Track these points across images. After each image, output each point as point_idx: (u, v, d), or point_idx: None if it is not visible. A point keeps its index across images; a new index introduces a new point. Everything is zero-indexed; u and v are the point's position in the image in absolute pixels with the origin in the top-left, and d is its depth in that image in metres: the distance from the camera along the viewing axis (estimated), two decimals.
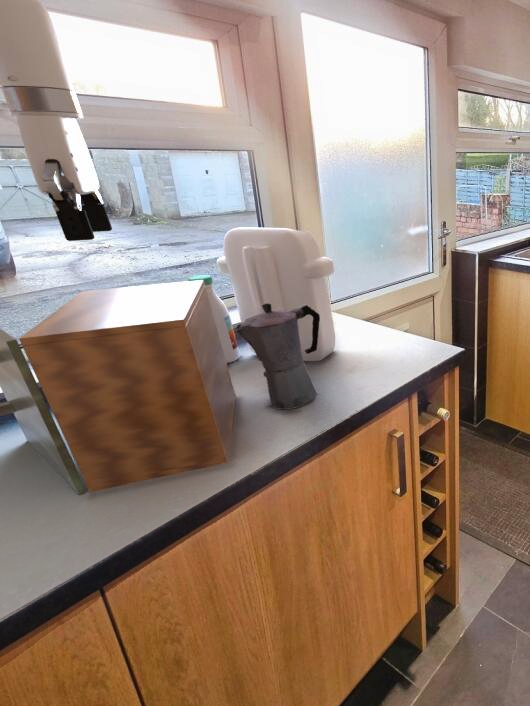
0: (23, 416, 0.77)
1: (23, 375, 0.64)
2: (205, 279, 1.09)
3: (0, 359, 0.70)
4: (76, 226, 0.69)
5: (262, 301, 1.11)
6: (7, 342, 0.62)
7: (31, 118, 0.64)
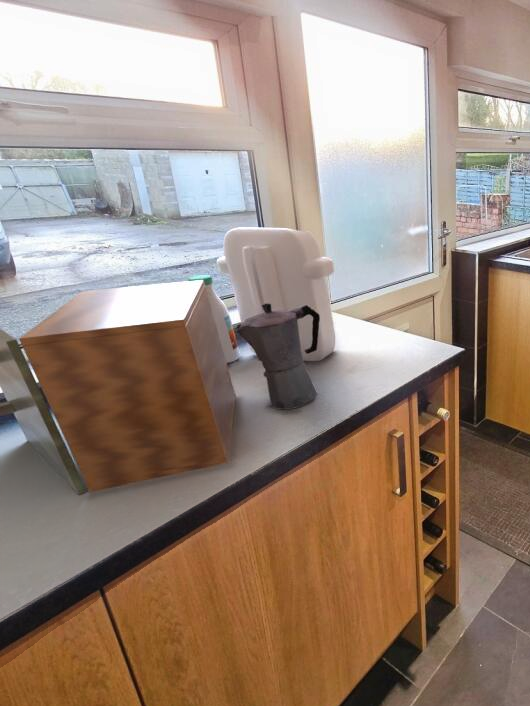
0: (23, 416, 0.77)
1: (23, 375, 0.64)
2: (205, 279, 1.09)
3: (0, 359, 0.70)
4: None
5: (262, 301, 1.11)
6: (7, 342, 0.62)
7: None
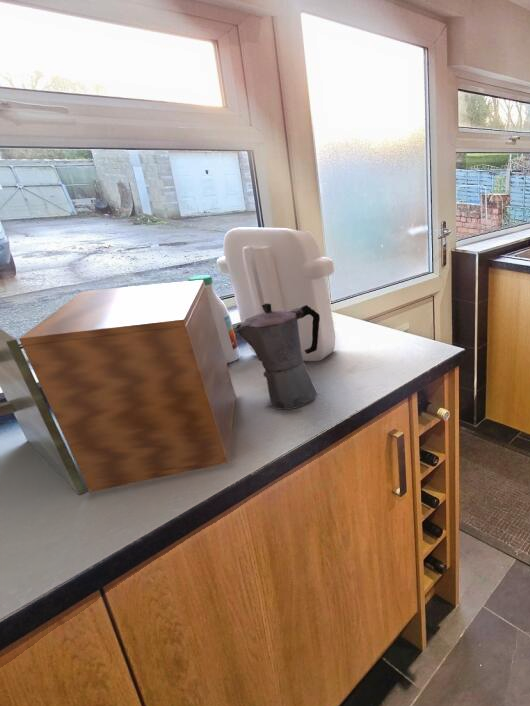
0: (23, 416, 0.77)
1: (23, 375, 0.64)
2: (205, 279, 1.09)
3: (0, 359, 0.70)
4: None
5: (262, 301, 1.11)
6: (7, 342, 0.62)
7: None
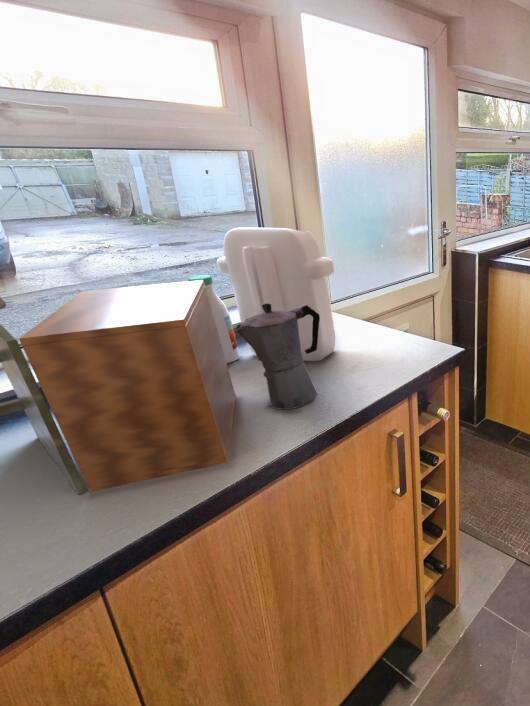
0: (30, 414, 0.78)
1: (23, 375, 0.64)
2: (205, 279, 1.09)
3: (6, 358, 0.70)
4: None
5: (262, 301, 1.11)
6: (7, 342, 0.62)
7: None
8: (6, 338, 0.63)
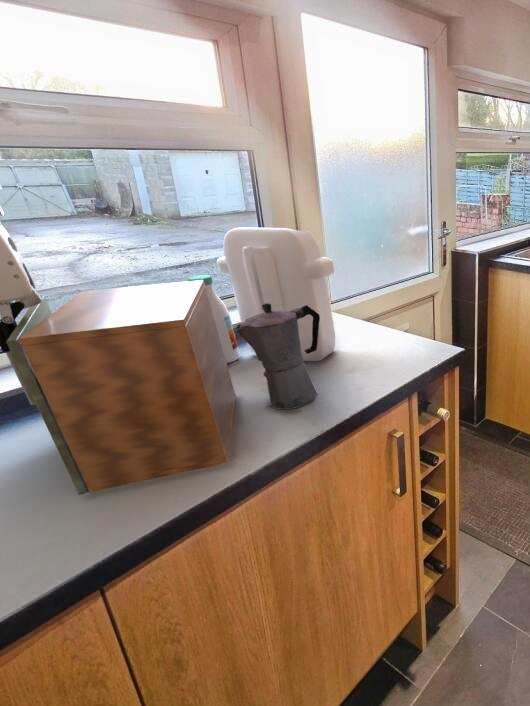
0: None
1: (23, 375, 0.64)
2: (205, 279, 1.09)
3: None
4: None
5: (262, 301, 1.11)
6: (7, 342, 0.62)
7: None
8: (11, 337, 0.63)
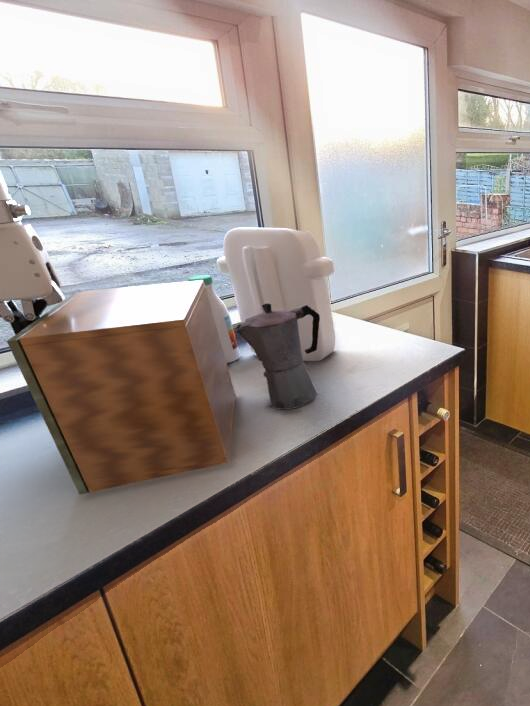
0: None
1: (23, 375, 0.64)
2: (205, 279, 1.09)
3: None
4: None
5: (262, 301, 1.11)
6: (7, 342, 0.62)
7: None
8: (14, 337, 0.63)
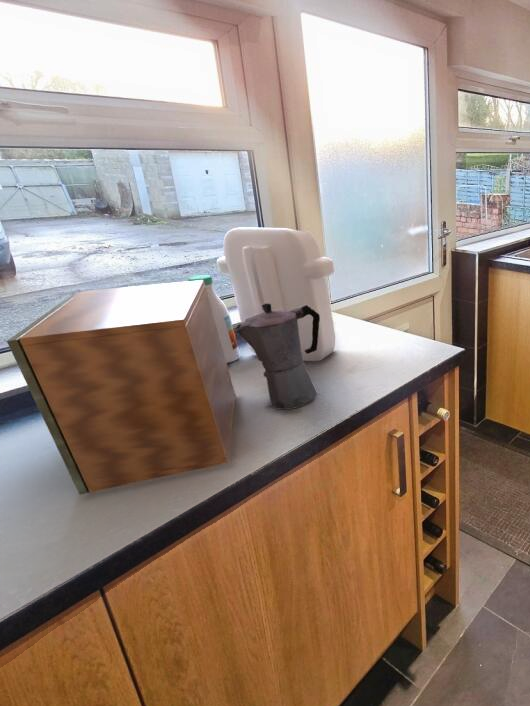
0: None
1: (23, 375, 0.64)
2: (205, 279, 1.09)
3: None
4: None
5: (262, 301, 1.11)
6: (7, 342, 0.62)
7: None
8: (14, 337, 0.63)
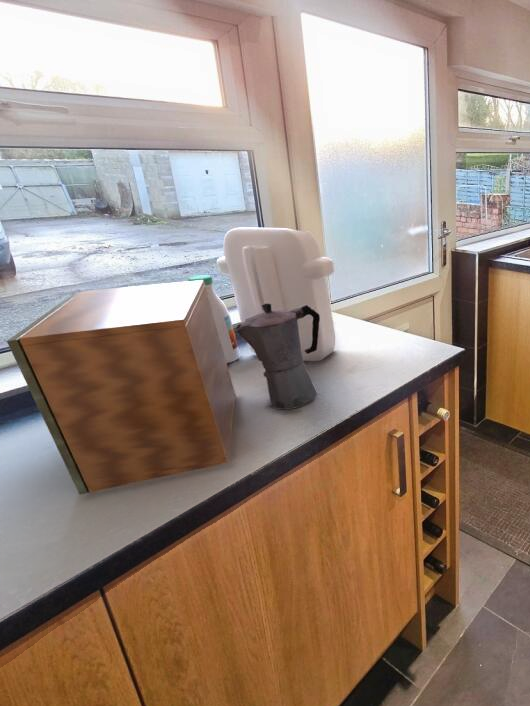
0: None
1: (23, 375, 0.64)
2: (205, 279, 1.09)
3: None
4: None
5: (262, 301, 1.11)
6: (7, 342, 0.62)
7: None
8: (14, 337, 0.63)
